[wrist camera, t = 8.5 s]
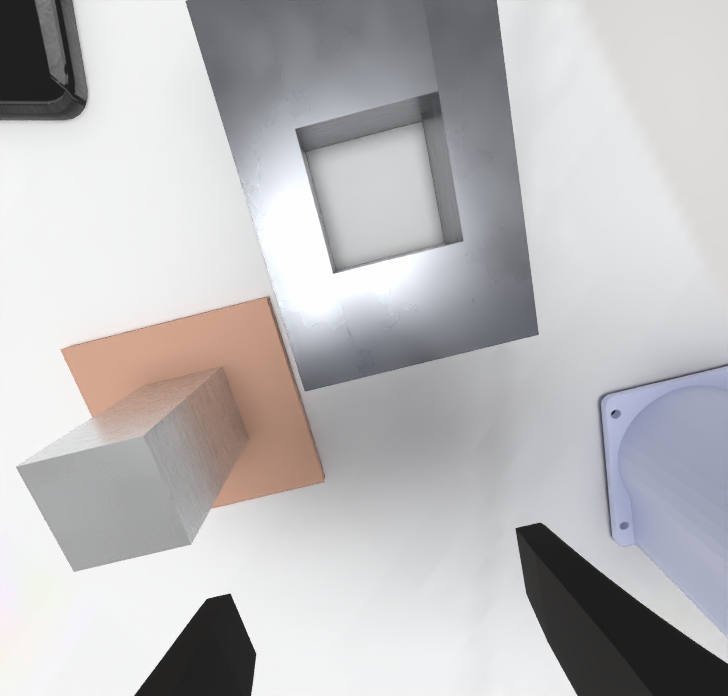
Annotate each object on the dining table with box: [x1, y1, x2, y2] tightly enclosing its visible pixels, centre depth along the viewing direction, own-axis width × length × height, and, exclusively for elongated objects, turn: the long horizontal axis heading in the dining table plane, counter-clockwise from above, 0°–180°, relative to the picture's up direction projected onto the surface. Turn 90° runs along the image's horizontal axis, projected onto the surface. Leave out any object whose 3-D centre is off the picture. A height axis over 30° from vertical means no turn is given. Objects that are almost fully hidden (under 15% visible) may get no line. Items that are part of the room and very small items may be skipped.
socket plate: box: [186, 0, 539, 391], centre depth 15 cm, size 14×10×3 cm
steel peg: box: [16, 366, 249, 572], centre depth 15 cm, size 4×4×7 cm
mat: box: [61, 297, 325, 509], centre depth 19 cm, size 10×10×1 cm
